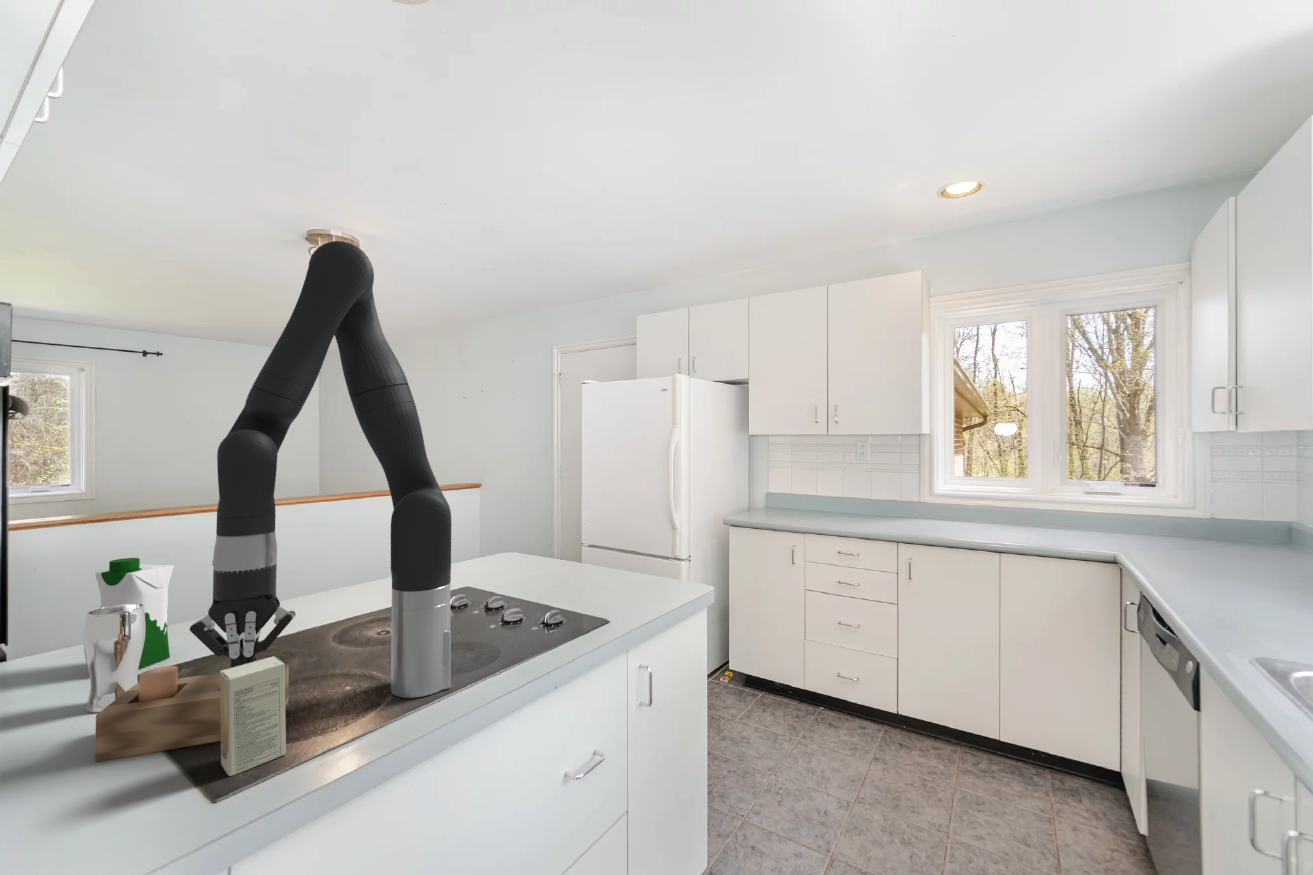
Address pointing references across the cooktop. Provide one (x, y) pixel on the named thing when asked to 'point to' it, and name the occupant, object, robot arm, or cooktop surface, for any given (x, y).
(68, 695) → the cooktop surface
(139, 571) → the milk carton
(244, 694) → the skincare box
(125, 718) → the walnut block
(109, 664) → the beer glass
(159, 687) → the tan rounded oval piece
